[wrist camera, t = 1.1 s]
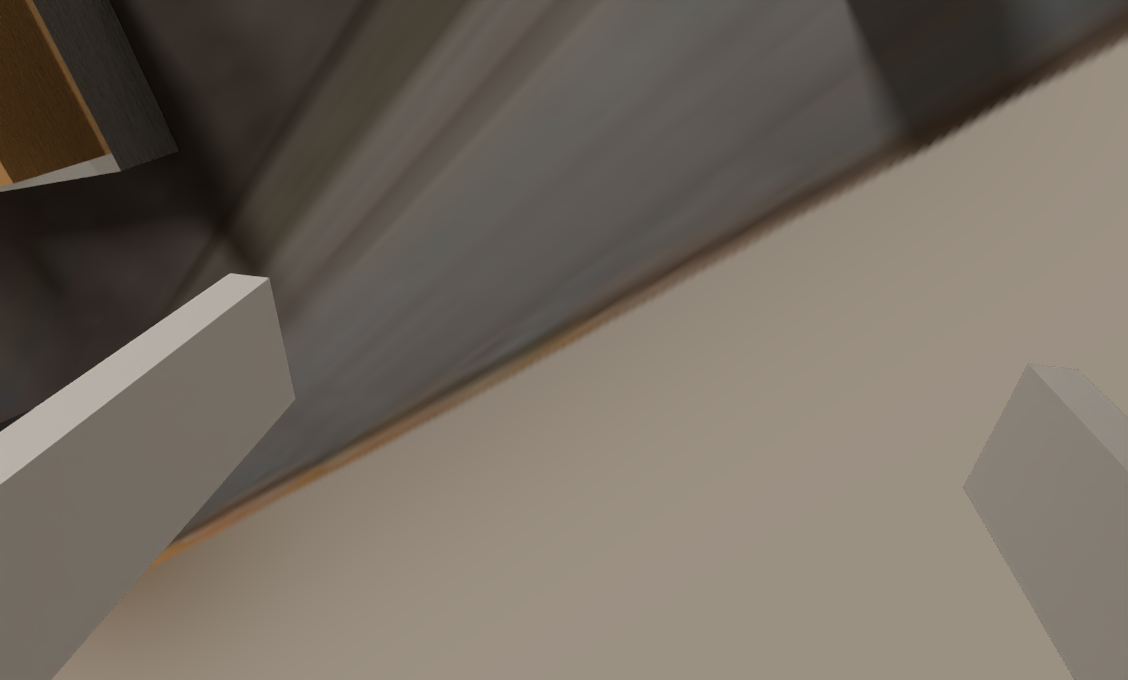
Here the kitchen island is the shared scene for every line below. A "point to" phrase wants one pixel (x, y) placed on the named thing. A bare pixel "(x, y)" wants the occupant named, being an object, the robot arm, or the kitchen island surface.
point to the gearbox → (72, 95)
